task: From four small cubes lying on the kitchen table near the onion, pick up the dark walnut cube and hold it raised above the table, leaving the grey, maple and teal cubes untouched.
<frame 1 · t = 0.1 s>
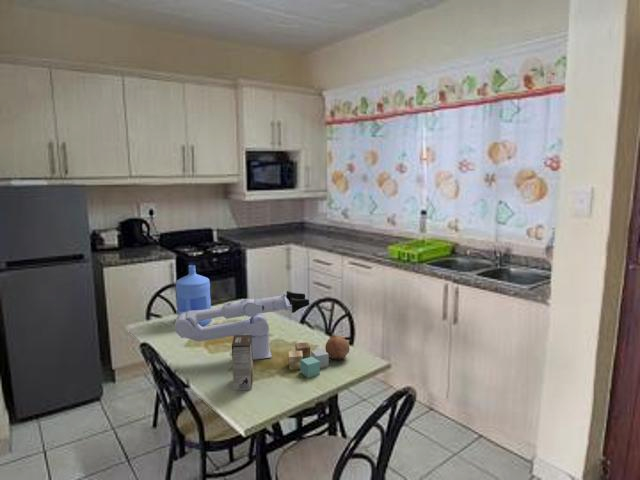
hand: (306, 299, 175), 22 cm above the table, tool horizontal, fingers open, 7 cm apart
walnut cube: (302, 357, 172), on the table
onion: (337, 358, 172), on the table
maple cube: (295, 366, 165), on the table
water jug: (195, 322, 212), on the table
teal cube: (310, 373, 159), on the table
coffee box: (243, 384, 152), on the table
grey cube: (319, 364, 166), on the table
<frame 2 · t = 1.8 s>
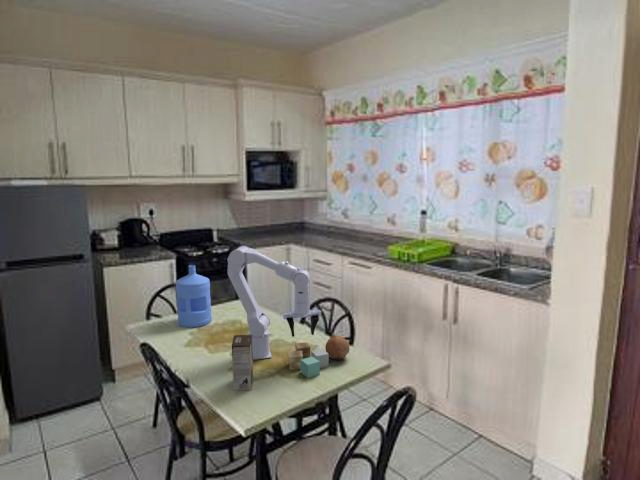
hand: (302, 334, 171), 9 cm above the table, tool pointing down, fingers open, 7 cm apart
nothing on the table moved.
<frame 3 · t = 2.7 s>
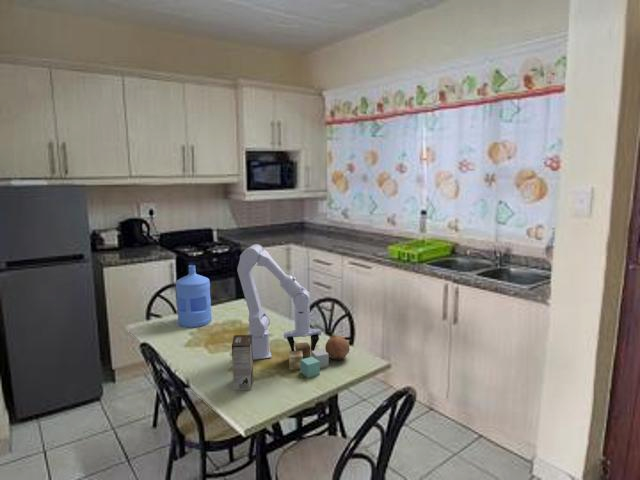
hand: (302, 353, 172), 1 cm above the table, tool pointing down, fingers open, 7 cm apart
nothing on the table moved.
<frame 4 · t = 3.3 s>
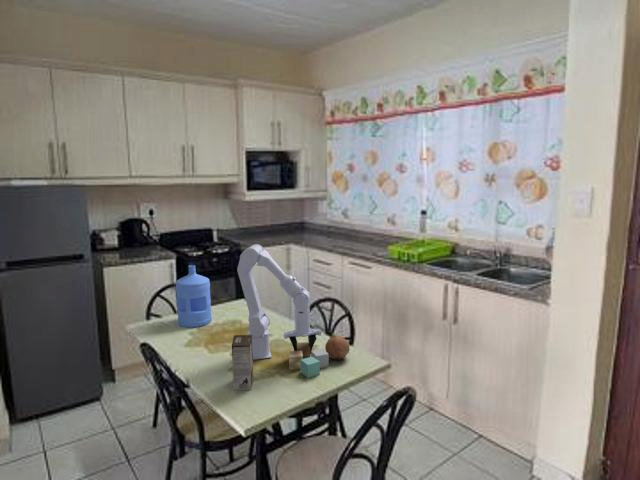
hand: (302, 353, 172), 1 cm above the table, tool pointing down, fingers closed on walnut cube, 5 cm apart
walnut cube: (302, 357, 172), on the table, touching gripper
everything else where it was.
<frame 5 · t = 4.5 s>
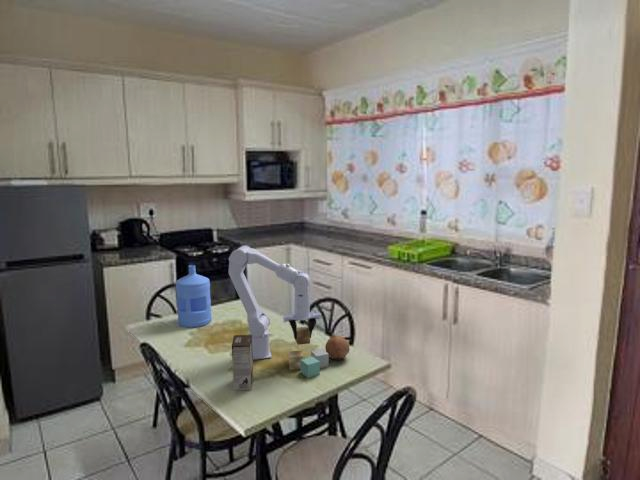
hand: (302, 337, 171), 8 cm above the table, tool pointing down, fingers closed on walnut cube, 5 cm apart
walnut cube: (302, 341, 171), point 6 cm above the table, touching gripper
everything else where it was.
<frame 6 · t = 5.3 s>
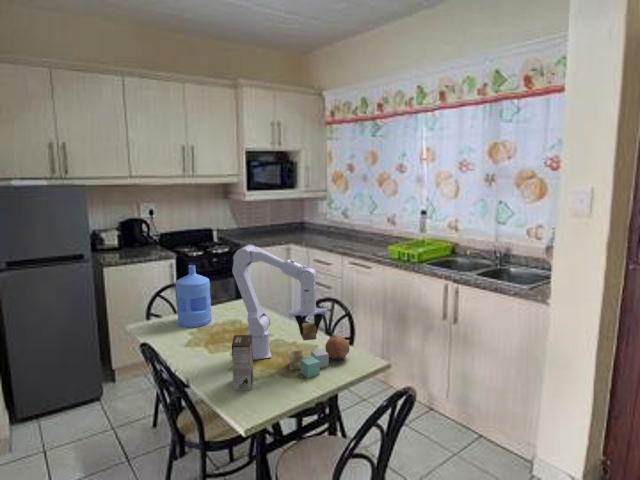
hand: (308, 333, 169), 10 cm above the table, tool pointing down, fingers closed on walnut cube, 5 cm apart
walnut cube: (308, 337, 169), point 9 cm above the table, touching gripper
everything else where it was.
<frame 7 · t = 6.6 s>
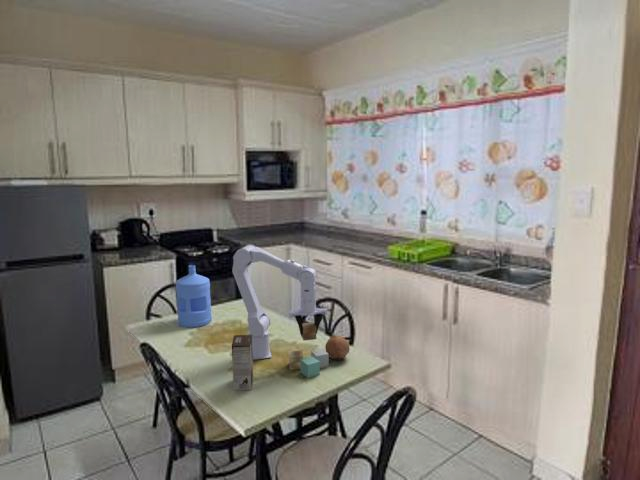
hand: (308, 333, 169), 10 cm above the table, tool pointing down, fingers closed on walnut cube, 5 cm apart
walnut cube: (308, 337, 169), point 9 cm above the table, touching gripper
everything else where it was.
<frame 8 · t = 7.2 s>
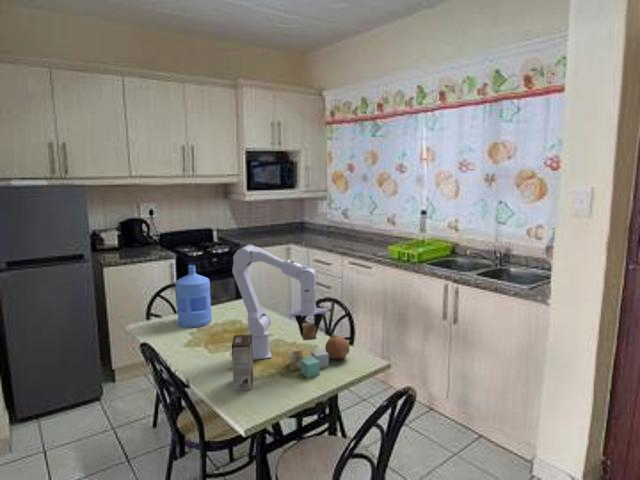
hand: (308, 333, 169), 10 cm above the table, tool pointing down, fingers closed on walnut cube, 5 cm apart
walnut cube: (308, 337, 169), point 9 cm above the table, touching gripper
everything else where it was.
at the end: the gripper is holding walnut cube; walnut cube point 8.8 cm above the table; maple cube moved 0.1 cm from its start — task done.
